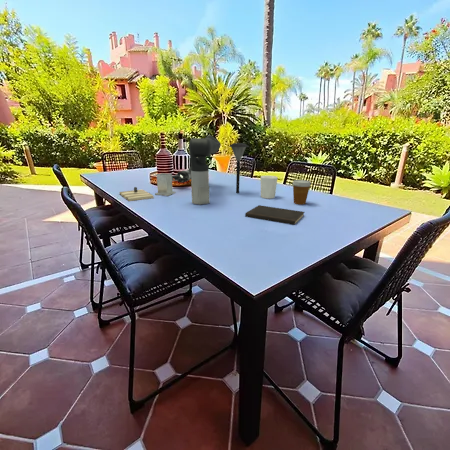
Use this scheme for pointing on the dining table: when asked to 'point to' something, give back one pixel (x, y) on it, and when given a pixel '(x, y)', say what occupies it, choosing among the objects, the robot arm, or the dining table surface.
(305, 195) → the disposable coffee cup
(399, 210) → the dining table surface
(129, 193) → the base plate
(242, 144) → the solar garden light
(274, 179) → the white paper cup
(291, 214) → the hardcover book
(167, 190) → the sleeve
